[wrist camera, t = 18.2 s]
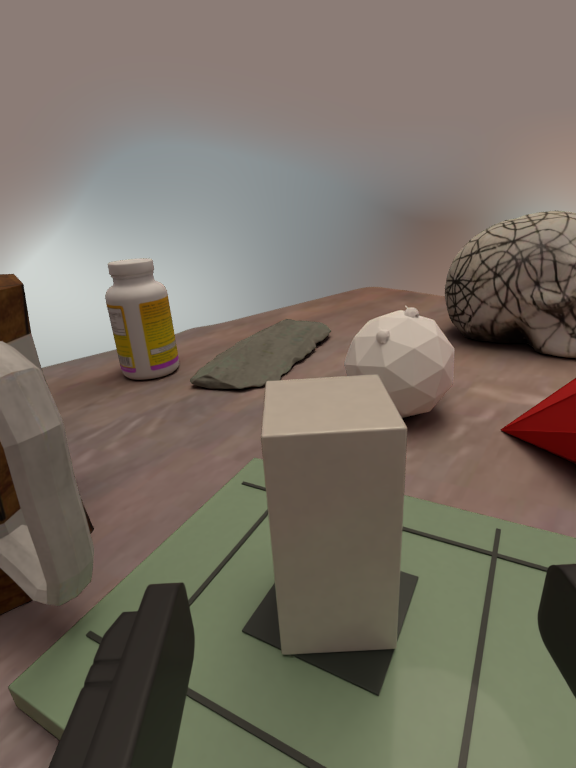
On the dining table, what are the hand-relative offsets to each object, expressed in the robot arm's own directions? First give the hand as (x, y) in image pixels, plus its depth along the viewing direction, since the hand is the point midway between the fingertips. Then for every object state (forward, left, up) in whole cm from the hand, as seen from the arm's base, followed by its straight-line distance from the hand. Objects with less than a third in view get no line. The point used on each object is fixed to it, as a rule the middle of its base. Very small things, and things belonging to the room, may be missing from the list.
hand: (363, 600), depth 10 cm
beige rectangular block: (+4, -6, -8) cm, 11 cm away
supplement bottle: (+37, -28, -10) cm, 47 cm away
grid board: (+4, -6, -10) cm, 12 cm away
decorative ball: (+6, -28, -10) cm, 31 cm away
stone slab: (+26, -37, -10) cm, 46 cm away
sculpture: (-1, -53, -10) cm, 54 cm away
